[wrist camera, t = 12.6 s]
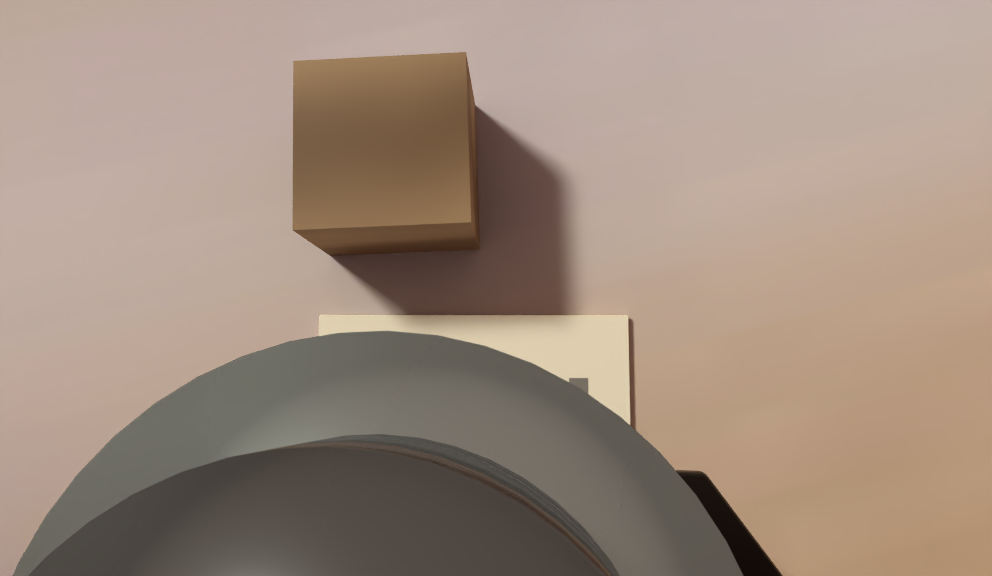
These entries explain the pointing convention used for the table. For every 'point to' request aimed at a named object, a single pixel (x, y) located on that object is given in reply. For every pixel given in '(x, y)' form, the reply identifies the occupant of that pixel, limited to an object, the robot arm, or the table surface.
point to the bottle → (378, 475)
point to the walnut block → (385, 154)
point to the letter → (528, 344)
